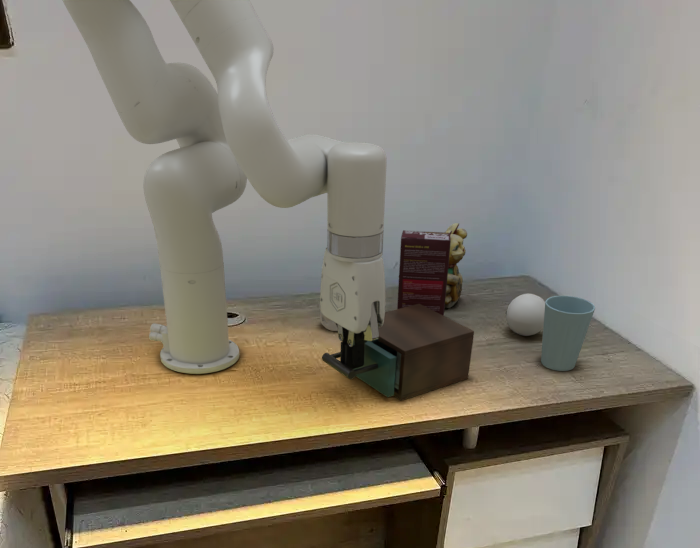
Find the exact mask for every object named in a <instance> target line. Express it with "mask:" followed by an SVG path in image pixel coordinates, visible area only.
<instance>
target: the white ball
mask: <svg viewBox="0 0 700 548" xmlns="http://www.w3.org/2000/svg"><path fill="white" fill-rule="evenodd" d="M501 303H503V304H506V305H508V306H507V309H506V310H505V320H506V322H507V325H508V327H509V328H510V330H511V331H512V332H513V333H515V334H517V335H519V336H523V337H528V336H535V335H536V334H538V333H539V332H541V331H543V327H544V313H545V300H544V299H543V297H541V296H539V295H537V294H534V293H523V294H520V295H518V296H516V297H515V298H513V299H512V300H511V301H510V303H507V302H503V301H501Z"/></svg>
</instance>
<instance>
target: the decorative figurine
mask: <svg viewBox="0 0 700 548" xmlns="http://www.w3.org/2000/svg"><path fill="white" fill-rule="evenodd" d="M459 226H460V223H458V222H455V223H452V224H450V225H449V226H448V228H447V229H446V230H445V231H444V232H443V233H450V238H451V244H450V255H449V266H448V277H447V288H446V299H445V309H450V308H451V307H453V306H454V305H455V304H456V303H457V302H458V300H459V299H460V297H461V294H462V292H463V282H464V281H463V274H462V273H461V272H460V269H459V266H458V265H457V264H459V263H460V262H461V261H462V260H463V258H464V257H465V255H466V253H467V252H466V248H465V246H464V239H467V238H468V231H467V230H466V229H465V228H462V227H459Z"/></svg>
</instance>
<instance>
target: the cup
mask: <svg viewBox="0 0 700 548" xmlns="http://www.w3.org/2000/svg"><path fill="white" fill-rule="evenodd" d="M544 302H545V313H544V327H543V329H542V342H541V357H540V362H541V365H542V366H544V367H545V368H546V369H549V370H553V371H556V372H567V371H571V370H573V369H574V368H575V367H576V364H577V361H578V359H579V355H580V354H581V350H582V347H583V345H584V342H585V338H586V336H587V334H588V333H587V332H588V330H589V328H590V324H591V322H592V319H593V316H594V313H595V310H596V305H595V304H594V303H593V302H591V301H589V300H587V299H585V298H583V297H578V296H573V295H553V296H549V297H547V298H546V299H545V300H544Z"/></svg>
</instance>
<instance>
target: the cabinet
mask: <svg viewBox="0 0 700 548" xmlns="http://www.w3.org/2000/svg"><path fill="white" fill-rule="evenodd" d="M378 331H379V339H377V340H378V341H380V342H382V343H383V344H385V345H387V346H388V347H390V348H392V349H393V350H395V351H397V352H399V353H400V354H401V365H400V378H399V389H396V388H395V387H394V396H393V397H395V398H397V399H398V400H399V401H404V400H408V399H410V398H414V397H417V396H420V395H422V394H426V393H429V392H432V391H434V390H438V389H441V388H445V387H446V386H449V385H452V384H456V383H459V382H462V381H465V380H468V379H469V374H470V365H471V360H472V359H471V358H472V351H473V343H474V336H475V331H474V330H473V329H470V328H469V327H467V326H464V325H463V324H460V323H458V322H457V321H455V320H453V319H451V318H449V317H447V316H445V315H444V316H443V315H441V314H439V313H437V312H435V311H433V310H431V309H429V308H427V307H425V306H423V305H421V304H416V305H412V306H408V307H404V308H400V309H397V308H396V309H392V310H388V311H385V317H384V323H383V325H382V327H378Z"/></svg>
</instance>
